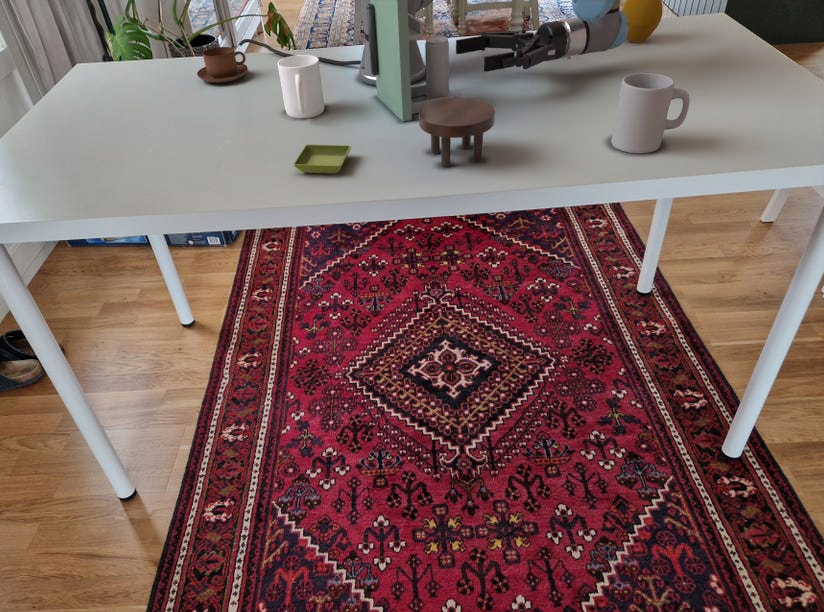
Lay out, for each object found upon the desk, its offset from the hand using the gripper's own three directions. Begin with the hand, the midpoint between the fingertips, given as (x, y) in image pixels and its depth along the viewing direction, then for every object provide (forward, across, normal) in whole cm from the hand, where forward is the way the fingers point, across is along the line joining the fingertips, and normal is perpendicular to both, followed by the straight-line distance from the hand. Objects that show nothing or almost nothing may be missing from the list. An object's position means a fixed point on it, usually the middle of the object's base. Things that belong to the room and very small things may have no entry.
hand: (469, 55), depth 133 cm
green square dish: (+38, -20, -8) cm, 44 cm away
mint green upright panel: (+12, 0, -8) cm, 14 cm away
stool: (+16, -28, -8) cm, 33 cm away
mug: (-17, -38, -8) cm, 43 cm away
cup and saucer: (+47, +38, -8) cm, 61 cm away
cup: (+35, +6, -8) cm, 37 cm away
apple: (-53, +14, -8) cm, 55 cm away
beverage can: (+7, 0, -8) cm, 11 cm away
